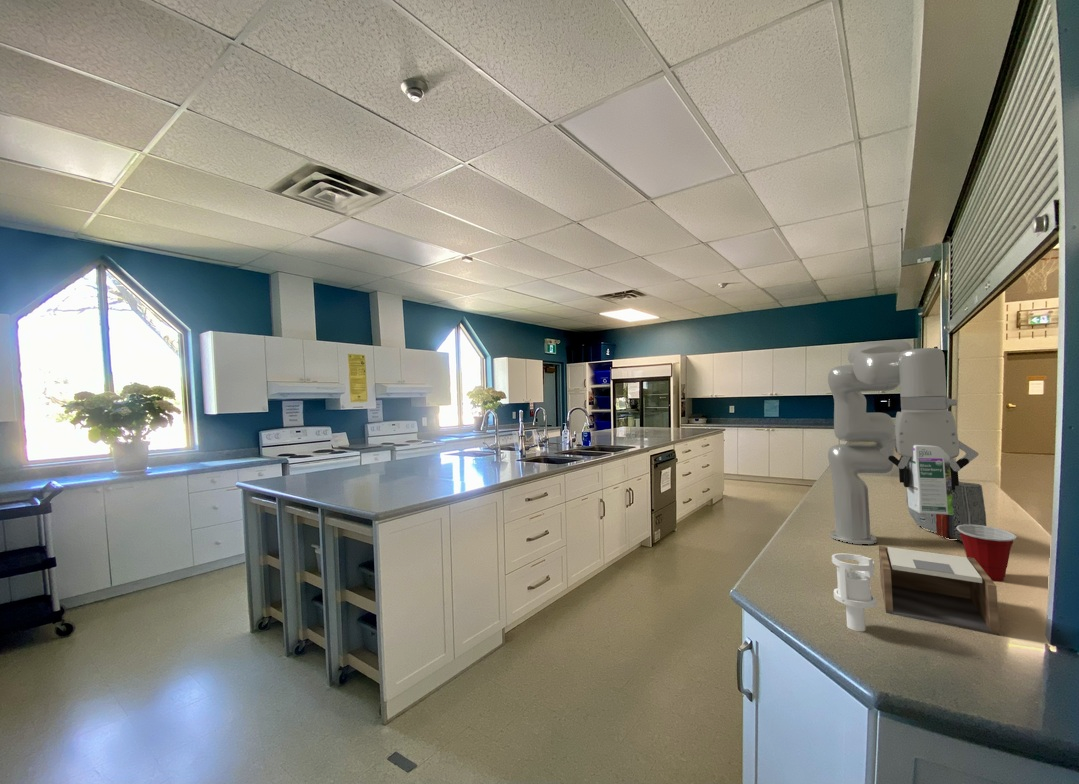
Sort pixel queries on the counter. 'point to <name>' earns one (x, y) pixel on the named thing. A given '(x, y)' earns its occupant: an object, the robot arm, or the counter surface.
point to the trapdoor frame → (940, 597)
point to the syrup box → (930, 481)
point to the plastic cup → (988, 548)
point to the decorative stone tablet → (955, 512)
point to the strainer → (854, 588)
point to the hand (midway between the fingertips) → (928, 487)
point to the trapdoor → (933, 564)
